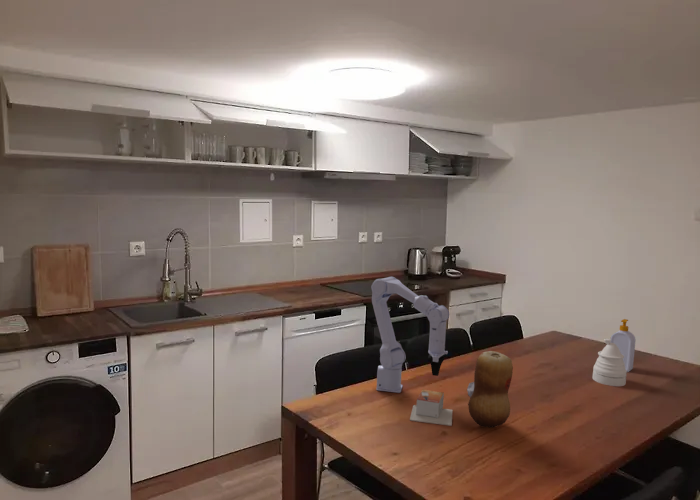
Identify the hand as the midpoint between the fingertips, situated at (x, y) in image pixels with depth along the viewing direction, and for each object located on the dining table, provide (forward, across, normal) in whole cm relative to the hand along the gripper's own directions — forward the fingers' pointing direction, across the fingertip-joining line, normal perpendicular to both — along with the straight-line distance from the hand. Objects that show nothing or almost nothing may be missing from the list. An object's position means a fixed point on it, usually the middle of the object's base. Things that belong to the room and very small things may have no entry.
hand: (435, 375), depth 191 cm
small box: (+7, -4, 0) cm, 8 cm away
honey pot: (+11, +46, -72) cm, 86 cm away
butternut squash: (+11, -14, -19) cm, 26 cm away
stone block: (+11, +14, -17) cm, 24 cm away
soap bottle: (+11, +66, -82) cm, 106 cm away
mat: (+10, -12, 0) cm, 16 cm away
